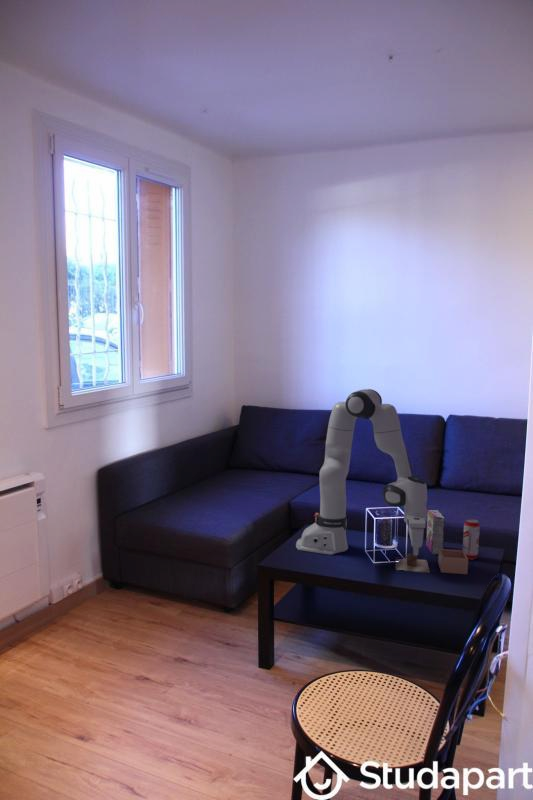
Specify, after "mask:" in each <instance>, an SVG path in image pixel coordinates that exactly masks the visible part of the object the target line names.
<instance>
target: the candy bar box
mask: <svg viewBox="0 0 533 800" xmlns="http://www.w3.org/2000/svg"><path fill="white" fill-rule="evenodd" d="M445 519H446V518H445V517H444V515H443V514H442V512H440V510H438V509H427V522H426V541H425V545H426V547H427V549H428V551H429V552H430V553H431V555H435V556H436V555H437V556H439V549H444V534H445Z"/></svg>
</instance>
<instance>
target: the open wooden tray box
mask: <svg viewBox="0 0 533 800" xmlns="http://www.w3.org/2000/svg"><path fill="white" fill-rule="evenodd" d="M462 550H463V549H460V550H459V549H447V548H443V549H439V555H438V559H437V560H438V561H437V563H438V567H439V570H440V573H447V574H458V575H459V574H460V575H468V569H469V559H468V558H467V556H466V553H465V551H462Z"/></svg>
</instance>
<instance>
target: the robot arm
mask: <svg viewBox="0 0 533 800" xmlns="http://www.w3.org/2000/svg"><path fill="white" fill-rule="evenodd" d="M330 412H331V413H330V416H329V421H328V426H327V433H326V439H325V449H324V450H325V452H324V461H323V464H322V466H321V468H320V470H319V477H318V478H319V479H318V480H319V494H320V495H319V496H320V497H319V499H320V505H319V512H315V514H314V523H312V524H310V525H309V526H307V527H306V528H305V529H304V530H303V532H302V534H301V538H298V539H297V541H296V542H295V548H296V549H297V550H298V551H304V552H310V553H318V554H324V555H331V556H333V555H335V554H338V553H342V552H343V553H344V552H346V551H347V550H349V546H348V541H347V535H346V534H347V533H346V532H347V531H346V529H347V525H348V524H347V522H348V519H347V514H346V511H347V495H346V494H347V493H346V492H347V490H346V488H347V487H346V479H347V476H348V475H349V471H350V464H351V463H350V462H351V457H352V456H351V454H352V444H353V438H354V431H355V427H356V421H357V419H359V418H360V419H364V420H370V421H371V423H372V429H373V437H374V442H375V444H376V447H377V449H379V450H380V451H381V452H383V453H385V454H388V455H390V456H391V457H392V459H393V461H394V465H395V466H394V467H395V472H396V476H397V479H396V481H393V482H391V483H390V482H389V483H388V484H387V485H384V486H383V488H382V491H381V495H382V496H381V497H382V500H383V501H384V503H385V504H386V505H388V506H390V507H394V508H395V507H398V508H399V507H403V509H404V510H403V521H404V523H406V525H407V527H408V529H407V530H408V535H409V538H410V546H411V548H413V549H412V550H413V551H412V554H414V555H417V556H418V555H419V549H420V548H422V547H423V541H424V533H425V528H427V517H428V509H427V502H428V488H427V487H428V486H427V483H426V481H425V480H424V478H422V477H419V476H416V475H414V473H413V469H412V465H411V461H410V458H409V453H408V450H407V446H406V444H405V442H404V439H403V435H402V434H403V433H402V427H401V422H400V418H399V414H398V412H397V408H396V407H395V406H394V405H392V404H390V403H383V399H382V396H381V395H380V393H379V392H378V391H376V390H374V389H371V388H368V389H367V388H365V389H359V390H358V391H357V390H356V391H354V392H351V393H350V394H349V395H348V396H347V398H346V399H345V401H340V402H339V401H338V402H337V403H335V404H334V405H333V407H332V409H331V411H330Z"/></svg>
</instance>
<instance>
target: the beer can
mask: <svg viewBox="0 0 533 800" xmlns="http://www.w3.org/2000/svg"><path fill="white" fill-rule="evenodd" d="M480 526H481V525H480V522H479V520H477V519H475V518H474V519H473V518H467V519H465V521H464V523H463V538H462V549H461V550H462V551H465V553H466V556H467V558H468V560H469V559H470V560H471V561H473V560H474V559H475V560H476V559H478V557H479V541H480V529H481V528H480ZM470 560H469V561H470ZM475 560H474V561H475Z"/></svg>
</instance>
